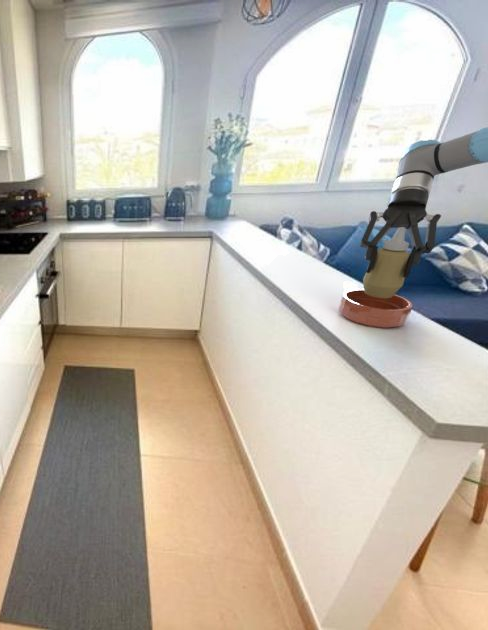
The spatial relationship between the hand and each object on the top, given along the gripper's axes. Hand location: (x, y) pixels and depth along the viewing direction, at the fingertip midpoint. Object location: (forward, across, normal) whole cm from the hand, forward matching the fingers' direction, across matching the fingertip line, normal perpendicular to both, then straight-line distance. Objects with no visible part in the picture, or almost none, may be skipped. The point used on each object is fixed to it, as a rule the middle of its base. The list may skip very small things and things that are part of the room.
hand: (387, 272), depth 87 cm
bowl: (+8, 0, -12) cm, 15 cm away
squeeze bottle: (+3, 0, -8) cm, 8 cm away
